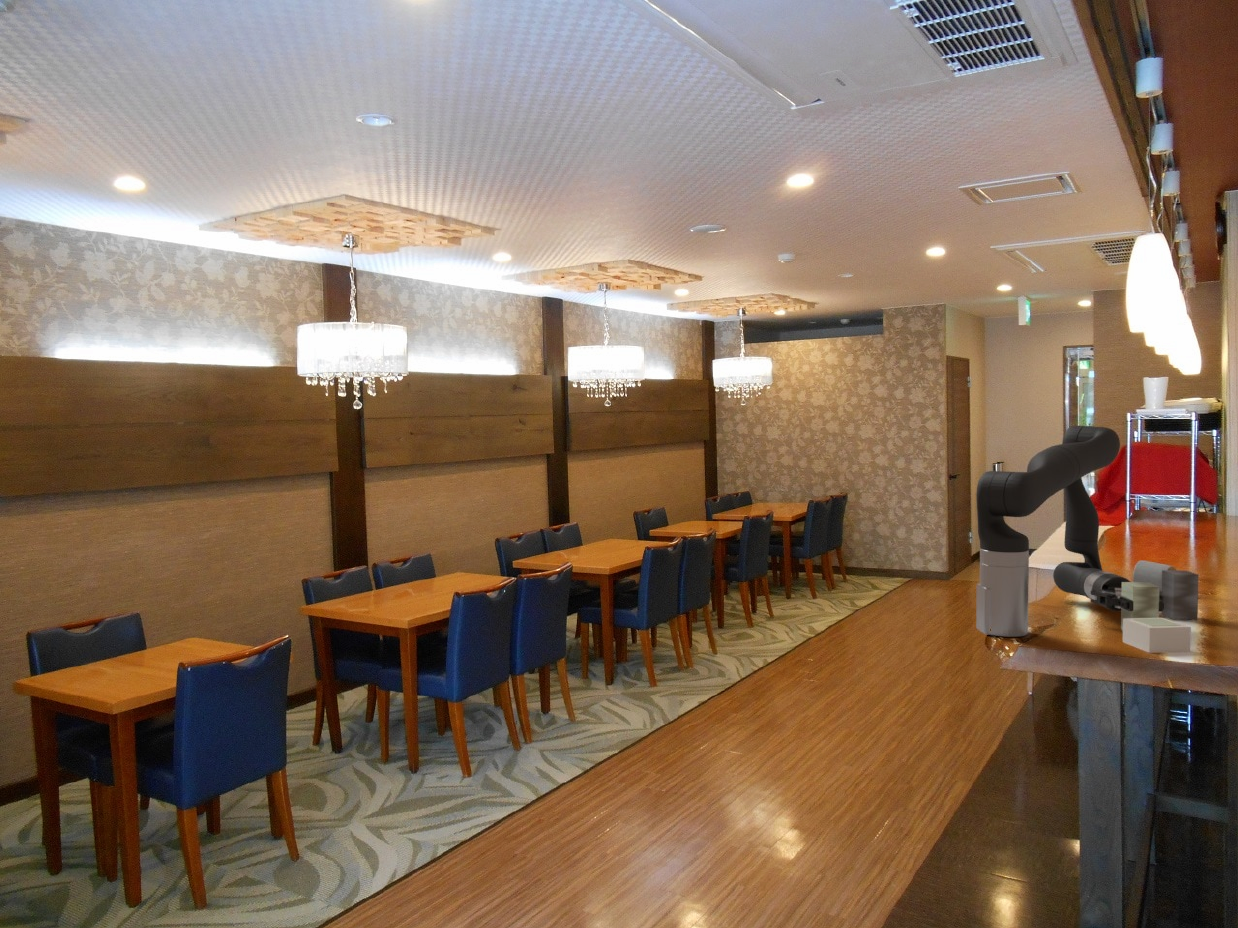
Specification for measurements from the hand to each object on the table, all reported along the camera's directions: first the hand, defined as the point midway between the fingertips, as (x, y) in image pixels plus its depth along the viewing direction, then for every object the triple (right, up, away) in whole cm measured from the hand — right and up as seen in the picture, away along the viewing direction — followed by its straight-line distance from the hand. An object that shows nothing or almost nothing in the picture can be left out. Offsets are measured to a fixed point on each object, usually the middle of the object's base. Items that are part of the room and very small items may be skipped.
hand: (1146, 606), depth 177 cm
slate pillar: (+17, -5, +16) cm, 24 cm away
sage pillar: (0, -6, +3) cm, 7 cm away
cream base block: (-3, -7, -8) cm, 11 cm away
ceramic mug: (+29, -4, +45) cm, 54 cm away
